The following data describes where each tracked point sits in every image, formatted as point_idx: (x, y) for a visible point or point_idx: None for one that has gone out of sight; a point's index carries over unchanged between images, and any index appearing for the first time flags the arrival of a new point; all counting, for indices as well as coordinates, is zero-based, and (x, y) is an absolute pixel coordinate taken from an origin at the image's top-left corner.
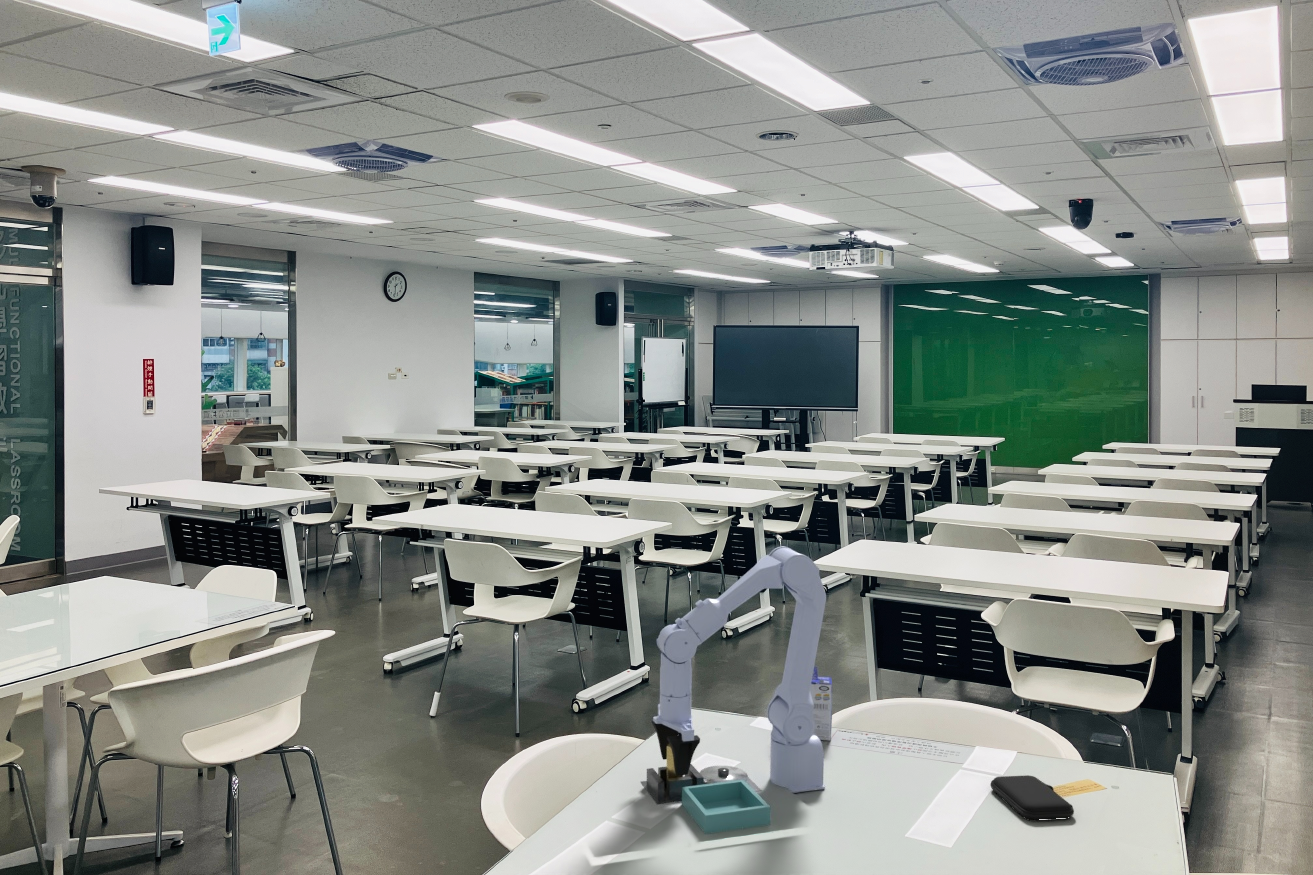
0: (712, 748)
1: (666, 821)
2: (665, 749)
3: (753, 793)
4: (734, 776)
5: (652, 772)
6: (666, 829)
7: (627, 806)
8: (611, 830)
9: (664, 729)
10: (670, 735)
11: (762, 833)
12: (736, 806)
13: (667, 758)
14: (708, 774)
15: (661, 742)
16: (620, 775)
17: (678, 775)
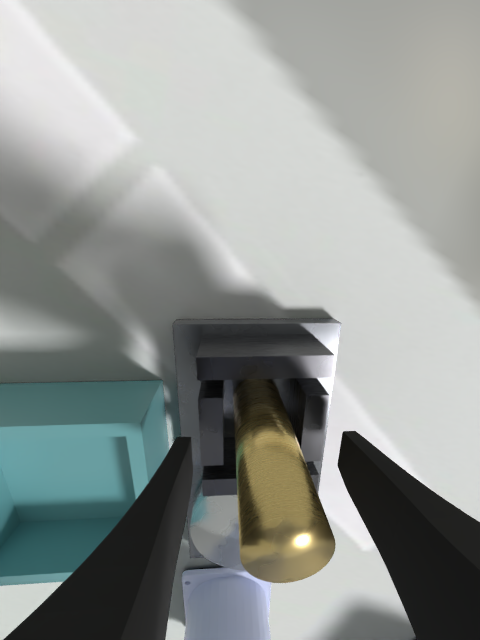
0: None
1: (97, 322)
2: (366, 473)
3: (61, 574)
4: (238, 545)
5: (294, 364)
6: (46, 307)
7: (219, 242)
8: (54, 131)
9: (465, 616)
10: (413, 575)
11: None
12: (117, 496)
13: (272, 456)
14: None
15: (397, 494)
16: (430, 286)
17: (174, 441)
